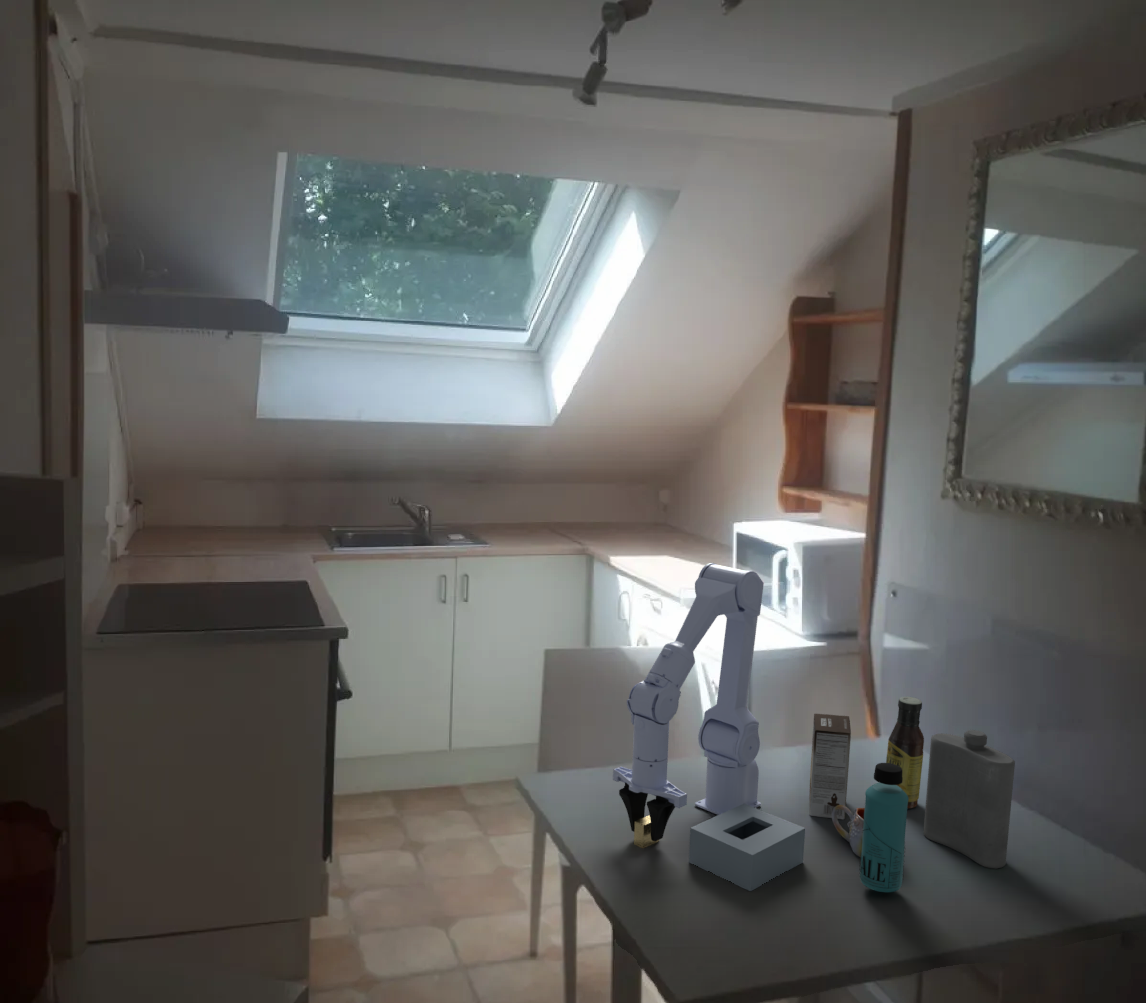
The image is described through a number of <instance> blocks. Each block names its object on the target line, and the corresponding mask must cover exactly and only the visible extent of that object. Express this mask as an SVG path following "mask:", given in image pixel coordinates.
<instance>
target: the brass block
mask: <svg viewBox="0 0 1146 1003" xmlns="http://www.w3.org/2000/svg"><path fill="white" fill-rule="evenodd" d="M633 834H634V835H633V845H635V846H636V847H638V848H641V849H645V848H647V847H649V846H652V845H654V844H656V843H658V842H660V840H657V841H652V840H651V821H650V814H649V815H646V816H644V818H642V819H639V820H637V821H635V829H634V832H633Z"/></svg>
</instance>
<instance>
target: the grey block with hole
mask: <svg viewBox="0 0 1146 1003" xmlns="http://www.w3.org/2000/svg"><path fill="white" fill-rule="evenodd" d="M689 833H690V834H689V850H688V852H689V853H688V863H689V864H692V865H693V864H694V865H693V866H695V865H696V866H695V867H697V866H698V867H697V868H700V869H702V870H704V871H706V872H708V871H710V872H712V873H713V874H712V873H711V874H712V875H714V874H715V876H717V877H719V876H720V877H719V878H721V877H722V878H721V879H723V878H724V879H723V880H725V879H726V880H725V881H727V880H728V881H727V882H729V881H731V882H732V883H731V882H730V883H731V884H733V883H734V884H733V885H736V886H738V887H739V888H742V889H744V890H746V891H748V892H752V891H754V890H755V889H757V888H759V887H761V886H763V885H765V884H766V882H767V883H769V882H770V881H772V880H774V879H775V877H776V876H778V877H779V876H781V875H783V874H785V873H786V872H785V871H787V872H788V871H789V870H793V868H796V867H798V866H799V865H800V864H802V863H804V853H805V838H806V828H805V827H804V826H801V825H799V824H796V823H793V822H791V821H788V820H786V819H784V818H782V817H779V816H776V815H774V814H771V813H768V812H766V811H764V810H761V809H759V808H758V807H756V808H754V807H752V806H749V805H747V804H742V805H740V806H738V807H735V808H733V809H731V810H729V811H726V812H724V813H722V814H720V815H716V816H713V817H711V818H709V819H707V820H703V821H702V822H700V823H698V824H696V825H694V826H691V827H690V831H689ZM710 872H709V873H710ZM784 872H785V873H784ZM782 873H783V874H782ZM780 874H781V875H780ZM773 878H774V879H773ZM776 878H777V877H776ZM771 879H772V880H771ZM769 880H770V881H769ZM764 883H765V884H764ZM762 884H763V885H762Z"/></svg>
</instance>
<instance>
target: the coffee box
mask: <svg viewBox="0 0 1146 1003" xmlns="http://www.w3.org/2000/svg"><path fill="white" fill-rule="evenodd" d="M851 730H852V728H851V720H850V716H848V715H839V714H825V713H814V714H813V725H812V740H811V742H812V743H811V744H812V745H811V758H810V771H809V772H810V773H809V796H808V797H809V798H808V799H809V803H808V804H809V816H810V817H818V818H825V819H826V818H828V819H832V810H833V809H834V807H836V806H837V805H844V806H846V807H847V793H848V792H847V791H848V781H849V780H848V779H849V778H848V777H849V767H850V766H849V765H850V752H851V750H850V749H851V739H852V737H851V736H852V731H851ZM845 818H846V812H845V811H844V810H842V809H839V810H838V812H837V819H838V820H846V819H845Z"/></svg>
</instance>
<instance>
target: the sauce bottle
mask: <svg viewBox="0 0 1146 1003" xmlns="http://www.w3.org/2000/svg"><path fill="white" fill-rule="evenodd" d="M897 701H898V702H897V706H898V712H897V718H896V722H895V724H894V727H893V729H892V731H891V733H890V735H889V737H888V741H887V742H888V743H887V750H886V751H887V752H886V758H885V763H892V764H895V765H898V766H900V767H901V768H902V777H903V781H902V783H901V784H899V785H897V786H899V787H900V788H901V789H902V790H903V791H904V792H905V793H906V794H907V796H908V798H909V800H908V806H907V810H909V809H915V808H916V807H917V806H918V801H919V798H920V790H921V779H922V771H923V770H922V768H923V762H924V761H923V760H924V745H925V737H924V733H923V732H922V730H921V727H920V722H921V721H920V717H921V716H920V715H921V711H922V708H923V701H922V700H921V699H919V698H917V697H912V696H901V697H899V698H898V700H897Z"/></svg>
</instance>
